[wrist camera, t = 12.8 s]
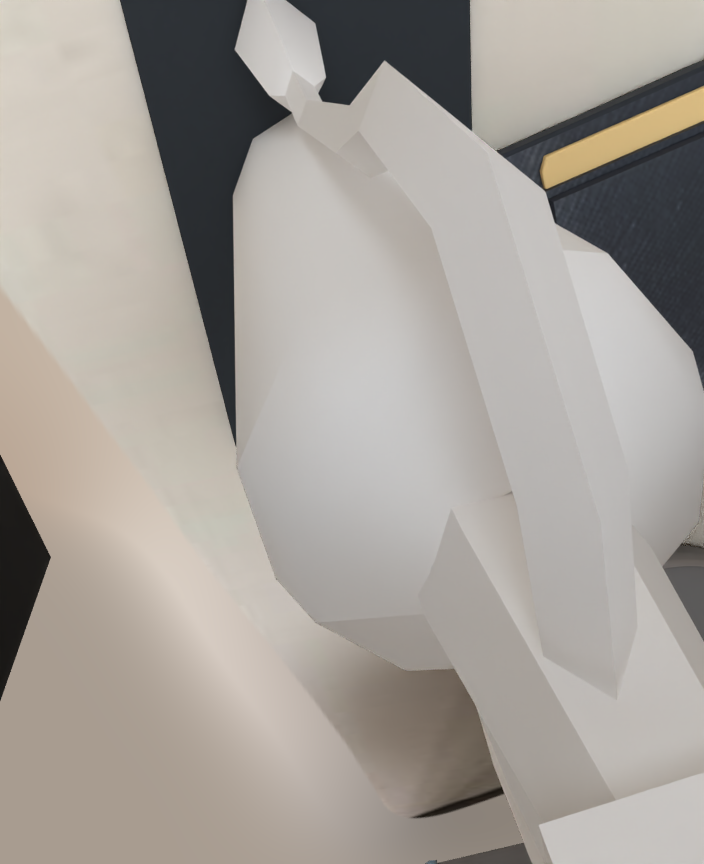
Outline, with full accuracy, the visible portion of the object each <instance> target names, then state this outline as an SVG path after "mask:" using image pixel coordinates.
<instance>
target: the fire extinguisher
mask: <svg viewBox="0 0 704 864" xmlns="http://www.w3.org/2000/svg"><path fill="white" fill-rule="evenodd" d="M235 51H236V52H237V53H238V55H239V56H240V57H241V59H242V60H243V61H244V63H245V64H246V65H247V67H248V68H249V69H250V71H251V72H252V73H253V75H254V76H255V77H256V79H257V80H258V81H259V83H260V84H261V85H262V87H263V88H264V89H265V91H266V92H267V93H268V95H269V96H270V97H272V98H273V99H274V100H276V101H277V102H278V103H280V104H281V105H283V106H284V107H285V108H287V109H288V110H289V111H291V112H292V114H290V115H289V116H287V117H286V118H284V119H283V120H281V121H280V122H278V123H277V124H275V125H273V126H272V127H270V128H269V129H267V130H266V131H264V132H263V133H261V134H260V135H258V136H257V137H255V138H253V140H252V143H251V145H250V148H249V151H248V154H247V157H246V160H245V162H244V165H243V168H242V171H241V174H240V177H239V179H238V182H237V185H236V188H235V191H234V193H233V242H234V315H235V387H236V459H237V470H238V473H239V476H240V479H241V482H242V484H243V487H244V490H245V493H246V496H247V498H248V501H249V504H250V507H251V510H252V513H253V515H254V518H255V521H256V524H257V527H258V529H259V532H260V535H261V538H262V541H263V544H264V546H265V549H266V552H267V555H268V558H269V561H270V563H271V566H272V569H273V572H274V575H275V577H276V580H277V581H278V582H279V583H280V584H281V585H282V586H283V587H284V588H285V589H286V591H287V592H288V593H289V594H290V595H291V596H292V597H293V598H294V599H295V600H296V601H297V603H298V604H299V605H300V606H301V607H302V608H303V609H304V610H305V611H306V612H307V613H308V615H309V616H310V617H311V618H312V619H313V620H314V621H315V622H316V623H318V624H319V625H321V626H323V627H325V628H327V629H329V630H331V631H333V632H334V633H336V634H338V635H340V636H342V637H344V638H346V639H347V640H349V641H351V642H353V643H355V644H357V645H359V646H361V647H362V648H364V649H366V650H368V651H370V652H372V653H374V654H375V655H377V656H379V657H381V658H383V659H385V660H387V661H389V662H390V663H392V664H394V665H396V666H398V667H400V668H402V669H403V670H405V671H415V670H436V669H455V670H456V672H457V674H458V676H459V677H460V679H461V681H462V683H463V684H464V686H465V688H466V690H467V691H468V693H469V695H470V697H471V698H472V700H473V702H474V704H475V705H476V707H477V711H478V714H479V718H480V721H481V724H482V728H483V731H484V735H485V738H486V741H487V745H488V748H489V752H490V755H491V758H492V762H493V765H494V768H495V770H496V773H497V776H498V778H499V781H500V783H501V786H502V788H503V791H504V793H505V796H506V799H507V801H508V804H509V806H510V809H511V811H512V814H513V816H514V819H515V821H516V824H517V827H518V829H519V832H520V834H521V837H522V840H523V842H524V845H525V847H526V850H527V852H528V855H529V857H530V859H531V862H532V864H704V641H703V639H702V637H701V636H700V634H699V632H698V630H697V628H696V627H695V625H694V623H693V621H692V619H691V618H690V616H689V614H688V612H687V610H686V609H685V607H684V605H683V603H682V602H681V600H680V598H679V596H678V594H677V593H676V591H675V589H674V587H673V585H672V584H671V582H670V580H669V578H668V576H667V575H666V573H665V571H664V569H663V565H664V564H665V563H666V562H667V560H668V559H669V558H670V557H671V556H672V554H673V553H674V552H675V551H676V549H677V548H678V547H679V546H680V544H681V543H682V542H683V541H684V540H685V538H686V537H687V536H688V535H689V533H690V532H691V531H692V530H693V529H694V527H695V526H696V525H697V524H698V522H699V517H700V507H701V497H702V487H703V477H704V390H703V387H702V383H701V379H700V376H699V372H698V368H697V365H696V361H695V357H694V354H693V351H692V350H691V349H690V348H689V346H688V345H687V344H686V343H685V342H684V341H683V340H682V338H681V337H680V336H679V335H678V334H677V333H676V331H675V330H674V329H673V328H672V327H671V326H670V325H669V323H668V322H667V321H666V320H665V319H664V318H663V316H662V315H661V314H660V313H659V312H658V311H657V310H656V308H655V307H654V306H653V305H652V304H651V303H650V301H649V300H648V299H647V298H646V297H645V296H644V295H643V293H642V292H641V291H640V290H639V289H638V288H637V286H636V285H635V284H634V283H633V282H632V281H631V280H630V278H629V277H628V276H627V275H626V274H625V273H624V271H623V270H622V269H621V268H620V267H619V266H618V265H617V263H616V262H615V261H614V260H613V259H612V258H611V256H610V255H609V254H608V253H606V252H604V251H603V250H601V249H599V248H597V247H596V246H594V245H592V244H590V243H589V242H587V241H585V240H583V239H582V238H580V237H578V236H576V235H575V234H573V233H571V232H569V231H567V230H566V229H564V228H562V227H560V226H559V225H557V224H555V222H554V219H553V216H552V212H551V209H550V205H549V202H548V199H547V195H546V192H545V191H544V190H543V189H542V188H541V187H539V186H538V185H537V184H536V183H534V182H533V181H532V180H531V179H530V178H528V177H527V176H526V175H525V174H523V173H522V172H521V171H520V170H518V169H517V168H516V167H515V166H514V165H512V164H511V163H510V162H509V161H507V160H506V159H505V158H504V157H503V156H501V155H500V154H499V153H498V152H496V151H495V150H494V149H493V148H492V147H490V146H489V145H488V144H487V143H485V142H484V141H483V140H482V139H481V138H479V137H478V136H477V135H476V134H474V133H473V132H472V131H471V130H470V129H468V128H467V127H466V126H465V125H463V124H462V123H461V122H460V121H459V120H457V119H456V118H455V117H454V116H452V115H451V114H450V113H449V112H447V111H446V110H445V109H444V108H443V107H441V106H440V105H439V104H438V103H436V102H435V101H434V100H433V99H432V98H430V97H429V96H428V95H427V94H425V93H424V92H423V91H422V90H420V89H419V88H418V87H417V86H415V85H414V84H413V83H412V82H411V81H409V80H408V79H407V78H406V77H404V76H403V75H402V74H401V73H399V72H398V71H397V70H396V69H394V68H393V67H392V66H391V65H390V64H388V63H387V62H386V61H385V60H384V62H383V63H382V64H381V66H380V67H379V68H378V69H377V71H376V72H375V73H374V75H373V76H372V77H371V78H370V80H369V81H368V82H367V84H366V85H365V86H364V87H363V89H362V90H361V91H360V93H359V94H358V95H357V96H356V98H355V99H354V100H353V102H352V103H351V104H350V105H343V104H336V103H329V102H322V100H321V98H320V96H319V94H318V93H319V91H320V89H321V87H322V85H323V83H324V81H325V78H326V74H325V69H324V64H323V59H322V54H321V49H320V44H319V39H318V34H317V29H316V24H315V23H314V22H313V21H312V20H310V19H309V18H308V17H307V16H305V15H304V14H303V13H301V12H300V11H299V10H298V9H296V8H295V7H294V6H293V5H291V4H290V3H289V2H287V1H286V0H247V4H246V8H245V11H244V15H243V19H242V23H241V27H240V31H239V35H238V39H237V43H236V46H235Z"/></svg>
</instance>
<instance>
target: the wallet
mask: <svg viewBox="0 0 704 864" xmlns="http://www.w3.org/2000/svg"><path fill="white" fill-rule="evenodd" d="M497 152H498V153H499V154H500V155H501V156H503V157H504V158H505V159H506V160H507V161H509V162H510V163H511V164H512V165H514V166H515V167H516V168H517V169H518V170H520V171H521V172H522V173H523V174H525V175H526V176H527V177H528V178H530V179H531V180H532V181H533V182H534V183H536V184H537V185H538V186H539V187H541V188H542V189H543V190H544V191H545V192H546V195H547V199H548V202H549V205H550V209H551V212H552V216H553V219H554V222H555V224H557V225H559V226H560V227H562V228H564V229H566V230H567V231H569V232H571V233H573V234H575V235H576V236H578V237H580V238H582V239H583V240H585V241H587V242H589V243H590V244H592V245H594V246H596V247H597V248H599V249H601V250H603V251H604V252H606V253H608V254H609V255H610V256H611V258H612V259H613V260H614V261H615V262H616V263H617V265H618V266H619V267H620V268H621V269H622V270H623V271H624V273H625V274H626V275H627V276H628V277H629V278H630V280H631V281H632V282H633V283H634V284H635V285H636V286H637V288H638V289H639V290H640V291H641V292H642V293H643V295H644V296H645V297H646V298H647V299H648V300H649V301H650V303H651V304H652V305H653V306H654V307H655V308H656V310H657V311H658V312H659V313H660V314H661V315H662V316H663V318H664V319H665V320H666V321H667V322H668V323H669V325H670V326H671V327H672V328H673V329H674V330H675V331H676V333H677V334H678V335H679V336H680V337H681V338H682V340H683V341H684V342H685V343H686V344H687V345H688V346H689V348H690V349H691V350H692V351H693V354H694V357H695V361H696V365H697V368H698V372H699V376H700V379H701V383H702V387H703V390H704V60H702V61H700V62H698V63H695V64H693V65H691V66H689V67H686V68H684V69H682V70H680V71H677V72H675V73H673V74H671V75H668V76H666V77H664V78H662V79H659V80H657V81H655V82H653V83H650V84H648V85H646V86H644V87H641V88H639V89H637V90H635V91H632V92H630V93H628V94H625V95H623V96H621V97H619V98H616V99H614V100H612V101H610V102H607V103H605V104H603V105H601V106H598V107H596V108H594V109H592V110H589V111H587V112H585V113H583V114H580V115H578V116H576V117H574V118H571V119H569V120H567V121H565V122H562V123H560V124H558V125H555V126H553V127H551V128H549V129H546V130H544V131H542V132H540V133H537V134H535V135H533V136H531V137H528V138H526V139H524V140H522V141H519V142H517V143H515V144H512V145H510V146H508V147H506V148H503V149H501V150H499V151H497Z"/></svg>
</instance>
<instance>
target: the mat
mask: <svg viewBox="0 0 704 864" xmlns="http://www.w3.org/2000/svg"><path fill="white" fill-rule="evenodd" d="M286 1H287V2H289V3H290V4H291V5H293V6H294V7H295V8H296V9H298V10H299V11H300V12H301V13H303V14H304V15H305V16H307V17H308V18H309V19H310V20H312V21H313V22H314V23H315V24H316V29H317V34H318V39H319V44H320V49H321V54H322V59H323V64H324V69H325V74H326V78H325V81H324V83H323V85H322V87H321V89H320V91H319V93H318V94H319V96H320V98H321V100H322V102H329V103H336V104H343V105H350V104H351V103H352V102H353V100H354V99H355V98H356V96H357V95H358V94H359V93H360V91H361V90H362V89H363V87H364V86H365V85H366V84H367V82H368V81H369V80H370V78H371V77H372V76H373V75H374V73H375V72H376V71H377V69H378V68H379V67H380V66H381V64H382V63H383V62H384V60H385V61H386V62H387V63H388V64H390V65H391V66H392V67H393V68H394V69H396V70H397V71H398V72H399V73H401V74H402V75H403V76H404V77H406V78H407V79H408V80H409V81H411V82H412V83H413V84H414V85H415V86H417V87H418V88H419V89H420V90H422V91H423V92H424V93H425V94H427V95H428V96H429V97H430V98H432V99H433V100H434V101H435V102H436V103H438V104H439V105H440V106H441V107H443V108H444V109H445V110H446V111H447V112H449V113H450V114H451V115H452V116H454V117H455V118H456V119H457V120H459V121H460V122H461V123H462V124H463V125H465V126H466V127H467V128H468V129H470V130H471V131H472V114H471V51H470V0H286ZM120 2H121V6H122V10H123V13H124V17H125V21H126V25H127V29H128V33H129V37H130V40H131V44H132V48H133V52H134V56H135V60H136V64H137V67H138V71H139V75H140V79H141V83H142V87H143V91H144V94H145V98H146V102H147V106H148V110H149V114H150V118H151V121H152V125H153V129H154V133H155V137H156V141H157V145H158V148H159V152H160V156H161V160H162V164H163V168H164V172H165V175H166V179H167V183H168V187H169V191H170V195H171V199H172V202H173V206H174V210H175V214H176V218H177V222H178V226H179V229H180V233H181V237H182V241H183V245H184V249H185V253H186V256H187V260H188V264H189V268H190V272H191V276H192V280H193V283H194V287H195V291H196V295H197V299H198V303H199V307H200V310H201V314H202V318H203V322H204V326H205V330H206V334H207V337H208V341H209V345H210V349H211V353H212V357H213V361H214V364H215V368H216V372H217V376H218V380H219V384H220V388H221V392H222V395H223V399H224V403H225V407H226V411H227V415H228V419H229V422H230V426H231V430H232V434H233V438H234V442H235V446H236V387H235V315H234V242H233V193H234V191H235V188H236V185H237V182H238V179H239V177H240V174H241V171H242V168H243V165H244V162H245V160H246V157H247V154H248V151H249V148H250V145H251V143H252V140H253V138H255V137H257V136H258V135H260V134H261V133H263V132H264V131H266V130H267V129H269V128H270V127H272V126H273V125H275V124H277V123H278V122H280V121H281V120H283V119H284V118H286V117H287V116H289V115H290V114H292V112H291V111H289V110H288V109H287V108H285V107H284V106H283V105H281V104H280V103H278V102H277V101H276V100H274V99H273V98H272V97H270V96H269V95H268V93H267V92H266V91H265V89H264V88H263V87H262V85H261V84H260V83H259V81H258V80H257V79H256V77H255V76H254V75H253V73H252V72H251V71H250V69H249V68H248V67H247V65H246V64H245V63H244V61H243V60H242V59H241V57H240V56H239V55H238V53H237V52H236V51H235V46H236V43H237V39H238V35H239V31H240V27H241V23H242V19H243V15H244V11H245V8H246V4H247V0H120Z"/></svg>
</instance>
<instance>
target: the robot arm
mask: <svg viewBox="0 0 704 864" xmlns="http://www.w3.org/2000/svg"><path fill="white" fill-rule="evenodd" d="M50 558H51V557H50V555H49V553H48V551H47V549H46V547H45V545H44V543H43V541H42V539H41V537H40V534H39V532H38V530H37V528H36V526H35V524H34V522H33V520H32V518H31V516H30V514H29V512H28V510H27V508H26V506H25V504H24V502H23V500H22V498H21V496H20V494H19V492H18V490H17V488H16V486H15V484H14V482H13V480H12V478H11V476H10V474H9V471H8V469H7V467H6V465H5V463H4V461H3V459H2V457H1V455H0V700H1V697H2V694H3V691H4V689H5V686H6V683H7V680H8V677H9V675H10V672H11V669H12V666H13V663H14V660H15V657H16V655H17V652H18V649H19V646H20V643H21V640H22V637H23V635H24V632H25V629H26V626H27V623H28V620H29V618H30V615H31V612H32V609H33V606H34V603H35V600H36V598H37V595H38V592H39V589H40V586H41V583H42V580H43V578H44V575H45V572H46V569H47V567H48V564H49V561H50ZM663 569H664V571H665V573H666V575H667V576H668V578H669V580H670V582H671V584H672V585H673V587H674V589H675V591H676V593H677V594H678V596H679V598H680V600H681V602H682V603H683V605H684V607H685V609H686V610H687V612H688V614H689V616H690V618H691V619H692V621H693V623H694V625H695V627H696V628H697V630H698V632H699V634H700V636H701V637H702V639H703V641H704V549H703V548H698V547H693V546H679V547H678V548H677V549H676V551H675V552H674V553H673V554H672V556H671V557H670V558H669V559H668V560H667V562H666V563H665V564H664V565H663ZM425 864H532V862H531V859H530V857H529V855H528V852H527V850H526V847H525V845H524V843H521V844H517V845H512V846H508V847H504V848H500V849H495V850H491V851H488V852H483V853H478V854H474V855H470V856H466V857H461V858H457V859H453V860H449V861H445V862H440V863H437V860H433V861H428V862H427V863H425Z"/></svg>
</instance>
